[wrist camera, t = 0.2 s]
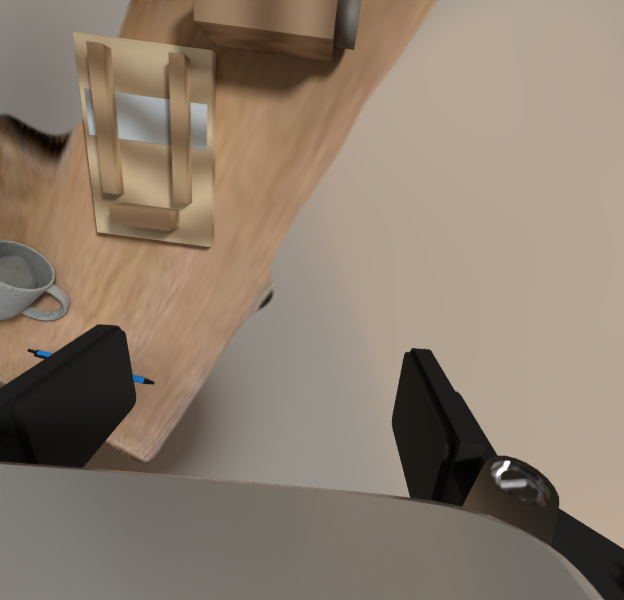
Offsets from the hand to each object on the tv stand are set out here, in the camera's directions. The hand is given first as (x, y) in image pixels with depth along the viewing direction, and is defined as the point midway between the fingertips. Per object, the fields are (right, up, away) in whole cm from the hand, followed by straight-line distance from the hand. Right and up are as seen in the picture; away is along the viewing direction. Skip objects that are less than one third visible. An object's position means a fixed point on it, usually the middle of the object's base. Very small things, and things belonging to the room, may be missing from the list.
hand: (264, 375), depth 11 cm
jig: (-16, +20, +26) cm, 37 cm away
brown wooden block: (-2, +30, +22) cm, 37 cm away
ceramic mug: (-35, +5, +33) cm, 49 cm away
